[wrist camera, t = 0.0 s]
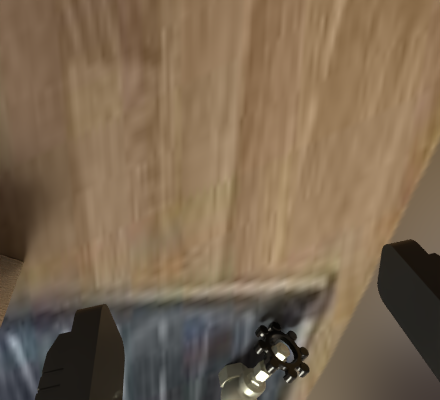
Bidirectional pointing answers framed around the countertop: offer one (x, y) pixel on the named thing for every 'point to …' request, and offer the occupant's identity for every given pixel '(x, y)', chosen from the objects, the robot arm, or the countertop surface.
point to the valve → (263, 365)
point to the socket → (7, 281)
